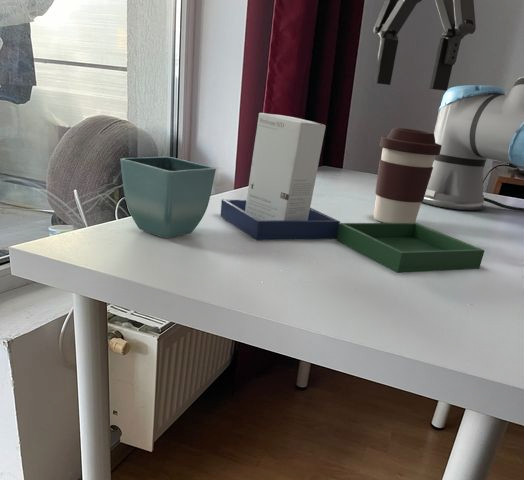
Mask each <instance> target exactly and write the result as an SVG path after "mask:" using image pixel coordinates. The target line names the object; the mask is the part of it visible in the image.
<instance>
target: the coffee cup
mask: <svg viewBox="0 0 524 480" xmlns="http://www.w3.org/2000/svg"><path fill="white" fill-rule="evenodd" d="M379 147H380V148H382V150H381V157H380V159H379V162H378V169H377V178H376V185H375V202H374V209H373V218H374V220H376V221H377V222H379V223H416V221H417V217H418V215H419V212H420V208H421V205H422V203H423V202H422V201H423V199H424V196H425V193H426V190H427V186H428V183H429V180H430V177H431V173H432V170H433V167H432V166H433V162H434V159H435V156H436V155H439V154H440V151H441V147H442V146H441V145H440V144H437V143H435V136H434V132H430V131H426V130H419V129H412V128H402V127H393V128H392V129H391V131H389V134H388V135H387V136H385V135H384V136H381V137H380V141H379Z"/></svg>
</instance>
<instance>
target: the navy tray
mask: <svg viewBox="0 0 524 480" xmlns="http://www.w3.org/2000/svg"><path fill="white" fill-rule="evenodd" d="M246 200H247V199H225V198H223V199H221V205H220V217H221V218H223V219H224V220H225V221H227V222H229V223H230V224H231V225H233V226H234V227H236V228H237V229H239V230H241V231H242V232H243V233H245V234H246V235H248V236H250V237H251V238H252V239H254V240H256V241H293V240H295V241H296V240H297V241H298V240H337V235H338V229H339V223H341V221H340V220H338V219H337V218H334V217H332V216H330V215H327V214H325V213H323V212H321V211H319V210H317V209H315V208H312V207H310V211H309V216H308V221H303V220H259V219H257V218H256V217H254V216H252V215H250V214H249V213H247V212H245V208H246Z"/></svg>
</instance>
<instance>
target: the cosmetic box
mask: <svg viewBox="0 0 524 480" xmlns="http://www.w3.org/2000/svg"><path fill="white" fill-rule="evenodd" d="M326 127H327V125H325V124H323V123H319V122H316V121H312V120H307V119H303V118H300V117H294V116H289V115H283V114H274V113H266V112H259V113H258V117H257V125H256V130H255V131H256V132H255V139H254V145H253V153H252V159H251V160H252V161H251V165H250V166H251V167H250V173H249V180H248V187H247V194H246V199H245V200H246V208H245V212H247V213H249V214H250V215H252V216H254V217H256V218H257V219H259V220H303V221H308V216H309V211H310V208H311V205H312V200H313V194H314V189H315V185H316V179H317V174H318V168H319V163H320V158H321V153H322V147H323V142H324V137H325V132H326Z"/></svg>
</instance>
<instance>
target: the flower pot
mask: <svg viewBox="0 0 524 480" xmlns="http://www.w3.org/2000/svg"><path fill="white" fill-rule="evenodd" d="M119 161H120V169H121V178H122V179H121V180H122V189H123V195H124V199H125V203H126V207H127V209H128V211H129V214H130V216H131V218H132V220H133V221H134V224H135V225H136V226H137V228H138V229H139V230H140V231H143V232H146V233H148V234H152V235H155V236H158V237H161V238H163V239H171V238H175V237H180V236H186V235H190V234H192V233H193V232H194V230H195V229H196V228H197V227H198V225H199V224H200V222H201V221H202V219H203V217H204V216H205V214H206V211H207V208H208V207H209V204H210V200H211V199H210V198H211V195H212V190H213V187H214V180H215V176H216V171H217V168H216V167H213V166H209V165H205V164H201V163H197V162H193V161H189V160H185V159H180V158H176V157H173V156H147V157H145V156H144V157H122V158H120V159H119Z"/></svg>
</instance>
